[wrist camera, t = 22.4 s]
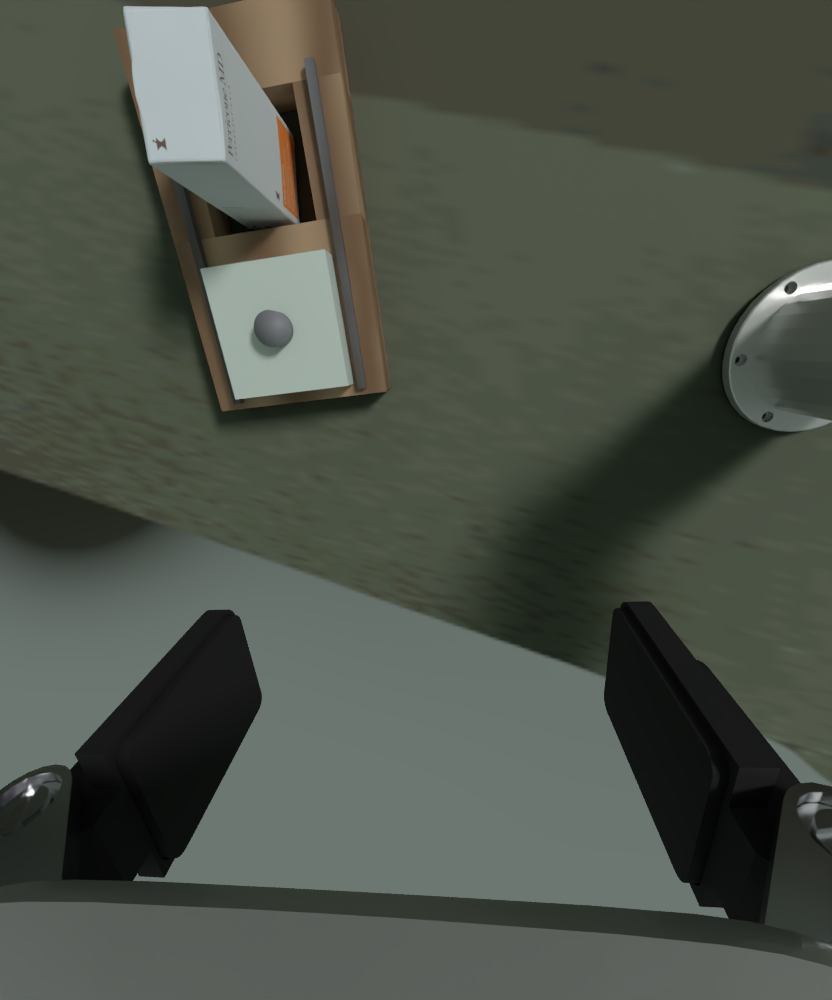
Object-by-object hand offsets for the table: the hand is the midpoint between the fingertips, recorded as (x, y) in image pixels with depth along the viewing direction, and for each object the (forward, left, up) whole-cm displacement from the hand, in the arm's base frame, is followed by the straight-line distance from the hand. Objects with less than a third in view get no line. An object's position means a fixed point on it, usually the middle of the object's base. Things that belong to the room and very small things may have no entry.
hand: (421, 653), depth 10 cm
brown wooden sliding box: (+11, -16, -28) cm, 34 cm away
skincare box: (+10, -20, -28) cm, 36 cm away
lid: (+11, -10, -25) cm, 29 cm away
